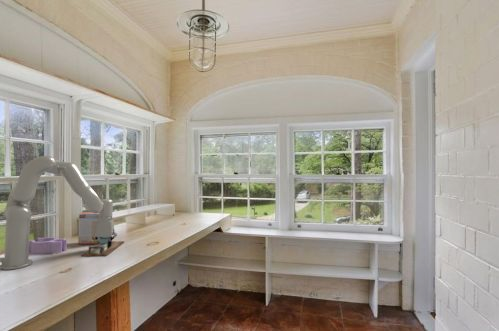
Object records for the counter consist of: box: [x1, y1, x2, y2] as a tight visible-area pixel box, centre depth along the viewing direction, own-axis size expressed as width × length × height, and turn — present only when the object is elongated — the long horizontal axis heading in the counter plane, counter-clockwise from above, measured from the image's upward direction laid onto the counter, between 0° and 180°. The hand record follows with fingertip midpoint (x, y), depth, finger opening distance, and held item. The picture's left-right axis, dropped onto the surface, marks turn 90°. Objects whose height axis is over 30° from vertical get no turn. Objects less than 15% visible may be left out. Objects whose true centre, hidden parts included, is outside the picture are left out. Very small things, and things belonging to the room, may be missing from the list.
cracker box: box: [77, 211, 99, 245], centre depth 179 cm, size 14×6×21 cm, turn 90°
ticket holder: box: [81, 240, 125, 257], centre depth 168 cm, size 14×28×5 cm, turn 6°
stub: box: [99, 237, 109, 248], centre depth 168 cm, size 5×5×6 cm
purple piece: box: [29, 236, 68, 255], centre depth 161 cm, size 20×12×7 cm, turn 87°
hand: (104, 246), depth 168 cm, fingers closed on stub, 5 cm apart
